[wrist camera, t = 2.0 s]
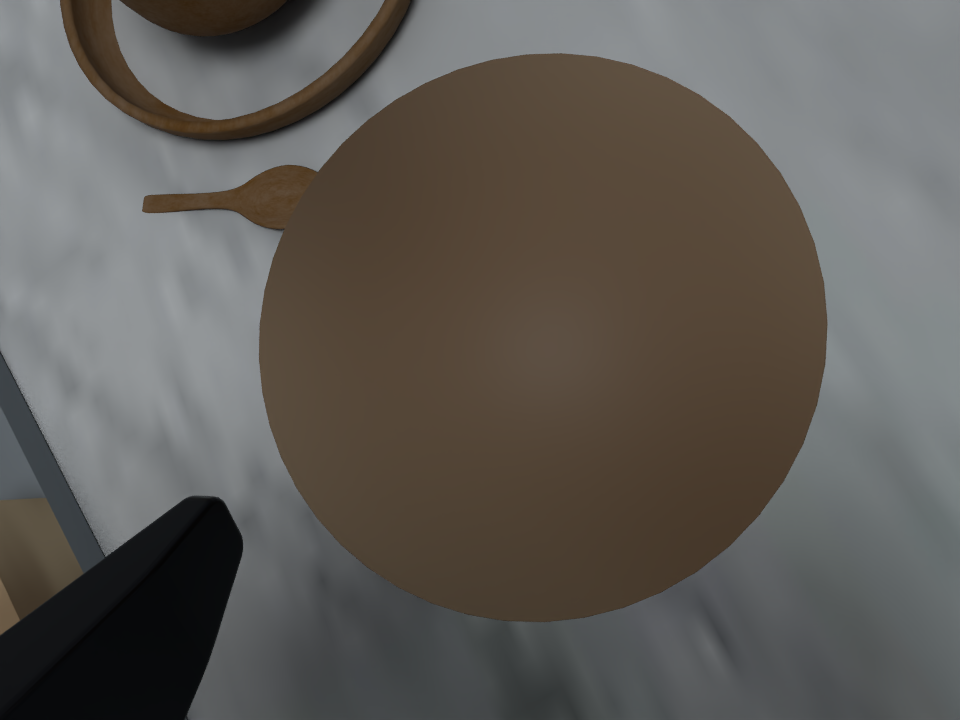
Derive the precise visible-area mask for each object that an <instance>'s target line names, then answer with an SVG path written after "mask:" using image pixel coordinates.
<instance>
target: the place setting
mask: <svg viewBox="0 0 960 720" xmlns="http://www.w3.org/2000/svg"><path fill="white" fill-rule="evenodd" d="M120 1H121V2H123V3H124V4H125V5H126V6H128V7H129V8H131V9H132V10H134V11H135V12H136V13H138V14H139V15H141V16H142V17H144V18H145V19H147V20H148V21H150V22H152V23H154V24H156V25H158V26H161V27H163V28H165V29H167V30H170V31H173V32H177V33H180V34H185V35H193V36H218V35H225V34H230V33H233V32H237V31H240V30H243V29H245V28H247V27H250V26H252V25H254V24H256V23H258V22H260V21H262V20H263V19H265V18H267V17H268V16H270V15H271V14H272V13H274V12H275V11H276V10H278V9H279V8H280V7H281V6H282V5H283V4H284V3H285V2H286V1H288V0H120ZM410 1H411V0H385V1H384V3H383V5H382V7H381V8H380V10H379V12H378V14H377V15H376V17H375V18H374V19H373V21H372V22H371V24H370V25H369V26H368V28H367V29H366V31H365V32H364V33H363V35H362V36H361V37H360V38H359V40H358V41H357V42H356V43H355V44H354V45H353V46H352V47H351V49H350V50H349V51H348V52H347V53H346V54H345V55H344V56H343V57H342V58H341V59H340V60H339V61H338V62H337V63H336V64H335V65H333V66H332V67H331V68H330V69H329V70H328V71H327V72H326V73H325V74H323V75H322V76H321V77H319V78H318V79H317V80H315V81H314V82H312V83H311V84H310V85H308V86H307V87H305V88H304V89H303V90H301V91H299V92H298V93H296V94H294V95H292V96H290V97H288V98H287V99H285V100H283V101H281V102H279V103H277V104H275V105H272V106H270V107H267V108H265V109H262V110H260V111H257V112H255V113H251V114H247V115H244V116H240V117H236V118H232V119H225V120H211V119H205V118H199V117H195V116H192V115H189V114H186V113H183V112H180V111H178V110H176V109H174V108H172V107H170V106H168V105H166V104H164V103H163V102H161V101H160V100H159V99H157V98H156V97H154V96H153V95H152V94H150V93H149V92H148V91H147V90H146V89H145V87H144V86H143V85H142V84H141V83H140V82H139V81H138V80H137V79H136V77H135V76H134V74H133V73H132V72H131V70H130V69H129V67H128V65H127V63H126V61H125V59H124V57H123V55H122V53H121V51H120V48H119V45H118V42H117V39H116V36H115V31H114V25H113V20H112V6H111V0H60V6H61V12H62V18H63V24H64V28H65V32H66V35H67V38H68V41H69V45H70V48H71V50H72V52H73V54H74V56H75V58H76V60H77V62H78V64H79V66H80V68H81V69H82V71H83V72H84V74H85V75H86V77H87V78H88V80H89V81H90V82H91V84H92V85H93V86H94V87H95V88H96V89H97V90H98V91H99V92H100V93H101V94H102V95H103V96H104V97H105V98H106V99H107V100H108V101H109V102H111V103H112V104H113V105H115V106H116V107H117V108H119V109H120V110H121V111H123V112H124V113H126V114H128V115H129V116H131V117H133V118H135V119H137V120H139V121H141V122H143V123H145V124H147V125H148V126H150V127H153V128H156V129H159V130H162V131H165V132H168V133H171V134H174V135H177V136H183V137H189V138H195V139H202V140H228V139H237V138H245V137H251V136H255V135H259V134H263V133H267V132H271V131H274V130H276V129H279V128H282V127H284V126H287V125H289V124H292V123H294V122H297V121H299V120H300V119H302V118H304V117H306V116H308V115H310V114H311V113H313V112H315V111H317V110H319V109H320V108H322V107H323V106H325V105H326V104H327V103H329V102H330V101H332V100H333V99H334V98H336V97H337V96H339V95H340V94H341V93H342V92H343V91H345V90H346V89H347V88H348V87H349V86H350V85H351V84H352V83H354V82H355V81H356V80H357V79H358V78H359V77H360V76H361V75H362V74H363V73H364V72H365V71H366V69H367V68H368V67H369V66H370V65H371V64H372V63H373V62H374V60H375V59H376V58H377V57H378V56H379V54H380V53H381V52H382V50H383V49H384V47H385V46H386V44H387V43H388V42H389V40H390V39H391V37H392V36H393V34H394V33H395V31H396V29H397V27H398V25H399V24H400V22H401V20H402V18H403V16H404V15H405V13H406V11H407V8H408V6H409V4H410ZM317 173H318V172H316V171H314V170H312V169H309V168H306V167H302V166H297V165H284V166H279V167H275V168H272V169H269V170H267V171H265V172H262V173H260V174H259V175H257V176H255V177H254V178H252V179H251V180H249V181H248V182H247V183H245V184H243V185H242V186H240V187H238V188H235V189H232V190H228V191H222V192H213V193H198V194H164V195H148V196H145V197H144V202H143V209H142V211H143V212H145V213H166V212H177V211H188V210H200V209H228V210H233V211H235V212H238V213H240V214H241V215H243V216H244V217H246V218H247V219H248V220H250V221H252V222H253V223H255V224H258V225H260V226H263V227H267V228H272V229H285V227H286V225H287V223H288V221H289V219H290V217H291V215H292V213H293V212H294V210H295V208H296V206H297V204H298V202H299V200H300V198H301V197H302V195H303V194H304V192H305V191H306V189H307V188H308V186H309V185H310V183H311V182H312V180H313V179H314V178H315V176H316V175H317Z"/></svg>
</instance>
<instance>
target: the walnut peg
mask: <svg viewBox="0 0 960 720" xmlns="http://www.w3.org/2000/svg"><path fill="white" fill-rule="evenodd" d="M826 341H827V312H826V301H825V290H824V281H823V277H822V273H821V268H820V264H819V260H818V256H817V252H816V247H815V243H814V241H813V238H812V236H811V233H810V231H809V228H808V226H807V223H806V221H805V218H804V216H803V213H802V211H801V208H800V206H799V204H798V202H797V201H796V199H795V197H794V195H793V194H792V192H791V190H790V189H789V187H788V185H787V183H786V182H785V180H784V178H783V176H782V175H781V173H780V172H779V170H778V169H777V168H776V167H775V165H774V164H773V163H772V161H771V160H770V159H769V158H768V156H767V155H766V154H765V152H764V151H763V150H762V149H761V147H760V146H759V145H758V144H757V142H756V141H755V140H753V139H752V138H751V137H750V136H749V135H748V134H747V133H746V132H745V131H744V130H743V129H742V128H741V127H740V126H739V125H738V124H737V123H736V122H735V121H734V120H733V119H732V118H731V117H729V116H728V115H727V114H725V113H724V112H723V111H721V110H720V109H718V108H717V107H716V106H714V105H713V104H711V103H710V102H709V101H707V100H706V99H705V98H703V97H702V96H700V95H699V94H697V93H695V92H693V91H691V90H690V89H688V88H686V87H684V86H682V85H680V84H678V83H676V82H674V81H673V80H671V79H669V78H667V77H664V76H662V75H659V74H656V73H653V72H651V71H648V70H645V69H643V68H640V67H637V66H635V65H631V64H627V63H623V62H618V61H614V60H609V59H605V58H600V57H594V56H584V55H573V54H562V53H560V54H529V55H520V56H514V57H508V58H501V59H495V60H490V61H486V62H483V63H479V64H476V65H472V66H469V67H465V68H462V69H458V70H456V71H453V72H451V73H448V74H446V75H444V76H441V77H439V78H436V79H434V80H432V81H429V82H427V83H425V84H423V85H421V86H419V87H418V88H416V89H414V90H412V91H411V92H409V93H407V94H405V95H404V96H402V97H400V98H398V99H396V100H395V101H393V102H392V103H391V104H389V105H388V106H387V107H385V108H384V109H382V110H381V111H380V112H378V113H377V114H376V115H374V116H373V117H371V118H370V119H369V120H367V121H366V122H365V123H364V124H363V125H362V126H361V127H360V128H359V129H358V130H357V131H355V132H354V133H353V134H352V135H351V136H350V137H349V138H348V139H347V140H346V141H345V142H343V143H342V145H341V146H340V147H339V148H338V149H337V150H336V152H335V153H334V154H333V155H332V156H331V157H330V158H329V160H328V161H327V162H326V163H325V164H324V165H323V167H322V168H321V169H320V170H319V172H318V173H317V175H316V176H315V178H314V179H313V180H312V182H311V183H310V185H309V186H308V188H307V189H306V191H305V192H304V194H303V195H302V197H301V198H300V200H299V202H298V204H297V206H296V208H295V210H294V212H293V213H292V215H291V217H290V219H289V221H288V223H287V225H286V227H285V229H284V232H283V234H282V237H281V239H280V242H279V245H278V247H277V250H276V252H275V255H274V257H273V261H272V264H271V268H270V272H269V276H268V280H267V283H266V287H265V291H264V298H263V305H262V312H261V319H260V337H259V363H260V373H261V383H262V393H263V397H264V402H265V406H266V411H267V415H268V420H269V424H270V428H271V430H272V433H273V436H274V439H275V442H276V444H277V447H278V450H279V453H280V455H281V458H282V460H283V462H284V464H285V466H286V468H287V470H288V472H289V474H290V476H291V478H292V480H293V482H294V484H295V486H296V488H297V489H298V491H299V492H300V494H301V495H302V497H303V498H304V500H305V501H306V503H307V504H308V506H309V507H310V509H311V510H312V511H313V513H314V514H315V516H316V517H317V519H318V520H319V521H320V522H321V523H322V524H323V525H324V526H325V528H326V529H327V530H328V531H329V532H330V533H331V534H332V535H333V536H334V538H335V539H336V540H337V541H338V542H339V543H340V544H341V545H342V546H343V547H344V548H345V549H347V550H348V551H349V552H350V553H351V554H352V555H354V556H355V557H356V558H357V559H358V560H359V561H361V562H362V563H363V564H364V565H365V566H366V567H368V568H369V569H371V570H372V571H374V572H375V573H377V574H378V575H380V576H381V577H383V578H384V579H386V580H387V581H389V582H391V583H392V584H394V585H395V586H397V587H398V588H400V589H403V590H405V591H407V592H409V593H411V594H413V595H415V596H417V597H419V598H422V599H424V600H426V601H428V602H430V603H432V604H436V605H439V606H442V607H445V608H448V609H452V610H455V611H458V612H461V613H464V614H468V615H473V616H479V617H485V618H491V619H497V620H503V621H525V622H550V621H559V620H568V619H577V618H585V617H589V616H593V615H597V614H601V613H605V612H609V611H613V610H617V609H620V608H624V607H626V606H629V605H631V604H634V603H636V602H639V601H641V600H644V599H646V598H649V597H651V596H653V595H656V594H658V593H661V592H663V591H664V590H666V589H668V588H669V587H671V586H673V585H675V584H676V583H678V582H680V581H682V580H683V579H685V578H687V577H688V576H690V575H692V574H694V573H695V572H697V571H698V570H700V569H701V568H702V567H703V566H705V565H706V564H707V563H708V562H710V561H711V560H712V559H714V558H715V557H716V556H717V555H719V554H720V553H721V552H722V551H724V550H725V549H726V548H728V547H729V546H730V545H731V544H732V543H733V542H734V541H735V540H736V539H737V538H738V537H739V536H740V535H741V534H742V533H743V531H744V530H745V529H746V528H747V527H748V526H749V525H750V524H751V523H752V522H753V521H754V520H755V519H756V518H757V517H758V516H759V515H760V513H761V512H762V510H763V509H764V508H765V506H766V505H767V504H768V502H769V501H770V499H771V498H772V497H773V495H774V494H775V492H776V491H777V490H778V488H779V487H780V485H781V484H782V483H783V481H784V479H785V478H786V476H787V474H788V472H789V470H790V468H791V466H792V464H793V462H794V460H795V458H796V457H797V455H798V453H799V451H800V449H801V447H802V445H803V443H804V440H805V437H806V434H807V432H808V429H809V426H810V423H811V420H812V417H813V415H814V412H815V409H816V406H817V402H818V397H819V392H820V387H821V382H822V377H823V372H824V368H825V359H826Z"/></svg>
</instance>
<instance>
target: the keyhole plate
mask: <svg viewBox="0 0 960 720" xmlns="http://www.w3.org/2000/svg"><path fill="white" fill-rule="evenodd" d="M104 558H105V557H104V555H103V553H102V551H101V550H100V548H99V546H98V544H97V542H96V540H95V538H94V536H93V534H92V532H91V530H90V528H89V526H88V524H87V522H86V520H85V518H84V516H83V514H82V512H81V510H80V508H79V506H78V504H77V502H76V501H75V499H74V497H73V495H72V493H71V491H70V489H69V487H68V485H67V483H66V481H65V479H64V477H63V475H62V473H61V471H60V469H59V467H58V465H57V463H56V461H55V459H54V457H53V455H52V453H51V451H50V450H49V448H48V446H47V444H46V442H45V440H44V438H43V436H42V434H41V432H40V430H39V428H38V426H37V424H36V422H35V420H34V418H33V416H32V414H31V412H30V410H29V408H28V406H27V404H26V402H25V401H24V399H23V397H22V395H21V393H20V391H19V389H18V387H17V385H16V383H15V381H14V379H13V377H12V375H11V373H10V371H9V369H8V367H7V365H6V363H5V361H4V359H3V357H2V355H1V353H0V635H1V634H2V633H4V632H5V631H6V630H8V629H9V628H10V627H12V626H13V625H14V624H16V623H17V622H19V621H20V620H21V619H23V618H24V617H25V616H27V615H28V614H29V613H31V612H32V611H33V610H35V609H36V608H38V607H39V606H40V605H42V604H43V603H44V602H46V601H47V600H48V599H50V598H51V597H52V596H54V595H55V594H56V593H58V592H59V591H61V590H62V589H63V588H65V587H66V586H67V585H69V584H70V583H71V582H73V581H74V580H75V579H77V578H78V577H80V576H81V575H82V574H84V573H85V572H86V571H88V570H89V569H90V568H92V567H93V566H94V565H96V564H97V563H99V562H100V561H101V560H103V559H104ZM185 720H187V718H186V717H185Z"/></svg>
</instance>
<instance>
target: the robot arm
mask: <svg viewBox="0 0 960 720" xmlns="http://www.w3.org/2000/svg"><path fill="white" fill-rule="evenodd" d="M242 552H243V539H242V535H241V533H240V531H239V529H238V527H237V525H236V523H235V522H234V520H233V518H232V516H231V514H230V512H229V510H228V508H227V506H226V504H225V503H224V501H223V500H222V499H220V498H219V497H213V496H190V497H188V498H186V499H184V500H183V501H181V502H180V503H178V504H177V505H176V506H174V507H173V508H172V509H170V510H169V511H168V512H166V513H165V514H164V515H162V516H161V517H159V518H158V519H157V520H155V521H154V522H153V523H151V524H150V525H149V526H147V527H146V528H145V529H143V530H142V531H141V532H139V533H138V534H136V535H135V536H134V537H132V538H131V539H130V540H128V541H127V542H126V543H124V544H123V545H122V546H120V547H119V548H117V549H116V550H115V551H113V552H112V553H111V554H109V555H108V556H107V557H105V558H104V559H103V560H101V561H100V562H99V563H97V564H96V565H94V566H93V567H92V568H90V569H89V570H88V571H86V572H85V573H84V574H82V575H81V576H80V577H78V578H77V579H75V580H74V581H73V582H71V583H70V584H69V585H67V586H66V587H65V588H63V589H62V590H61V591H59V592H58V593H56V594H55V595H54V596H52V597H51V598H50V599H48V600H47V601H46V602H44V603H43V604H42V605H40V606H39V607H38V608H36V609H35V610H33V611H32V612H31V613H29V614H28V615H27V616H25V617H24V618H23V619H21V620H20V621H19V622H17V623H16V624H14V625H13V626H12V627H10V628H9V629H8V630H6V631H5V632H4V633H2V634H1V635H0V720H185V717H186V715H187V713H188V710H189V708H190V706H191V703H192V701H193V699H194V696H195V694H196V691H197V689H198V687H199V684H200V682H201V679H202V677H203V674H204V672H205V669H206V667H207V664H208V662H209V659H210V656H211V653H212V650H213V647H214V644H215V641H216V638H217V634H218V631H219V628H220V625H221V621H222V618H223V615H224V612H225V608H226V605H227V602H228V599H229V596H230V592H231V589H232V586H233V583H234V579H235V576H236V573H237V570H238V567H239V563H240V560H241V557H242Z"/></svg>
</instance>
